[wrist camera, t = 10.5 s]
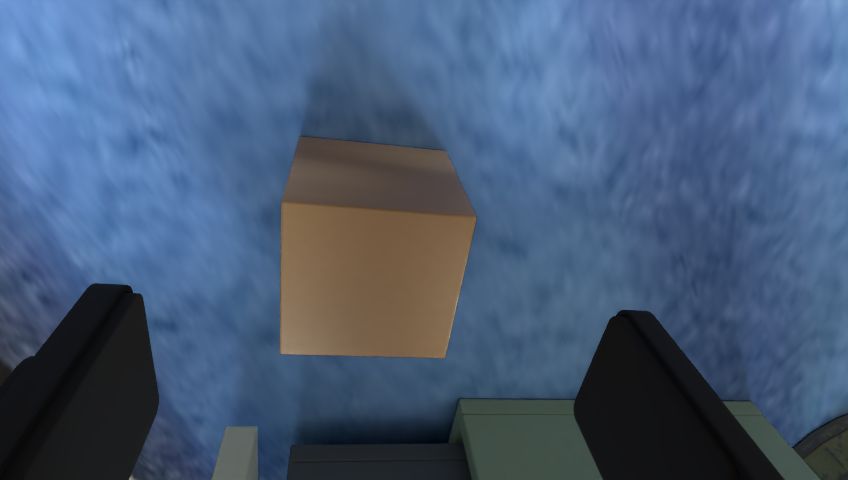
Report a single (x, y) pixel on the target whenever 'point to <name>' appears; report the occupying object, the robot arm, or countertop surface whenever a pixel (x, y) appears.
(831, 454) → the thermos
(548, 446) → the sage drawer box
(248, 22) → the countertop surface
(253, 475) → the pull-out drawer
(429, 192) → the block
